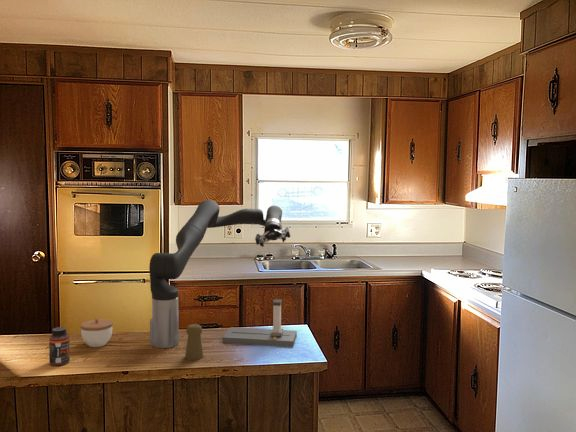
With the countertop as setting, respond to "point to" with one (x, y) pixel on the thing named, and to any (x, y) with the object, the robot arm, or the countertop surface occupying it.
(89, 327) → the lidded jar
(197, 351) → the pepper mill
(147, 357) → the countertop surface
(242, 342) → the slider console
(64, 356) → the supplement bottle
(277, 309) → the post
